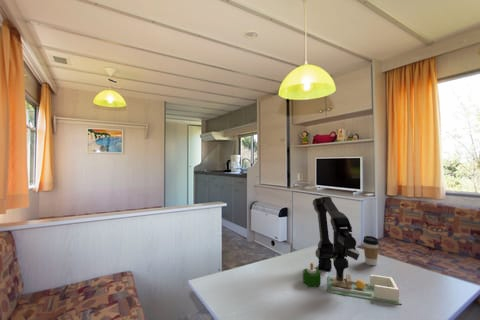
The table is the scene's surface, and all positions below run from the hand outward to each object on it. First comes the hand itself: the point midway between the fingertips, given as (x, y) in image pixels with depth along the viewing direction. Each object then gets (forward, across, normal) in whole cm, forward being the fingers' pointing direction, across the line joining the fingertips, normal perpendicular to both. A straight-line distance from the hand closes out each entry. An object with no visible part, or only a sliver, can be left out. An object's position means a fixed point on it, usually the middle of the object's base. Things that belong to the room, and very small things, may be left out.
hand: (339, 273), depth 116 cm
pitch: (+6, 0, -10) cm, 12 cm away
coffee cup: (+6, +34, -19) cm, 39 cm away
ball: (+4, 0, -9) cm, 10 cm away
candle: (+6, -1, +13) cm, 14 cm away
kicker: (+5, 0, -1) cm, 5 cm away
